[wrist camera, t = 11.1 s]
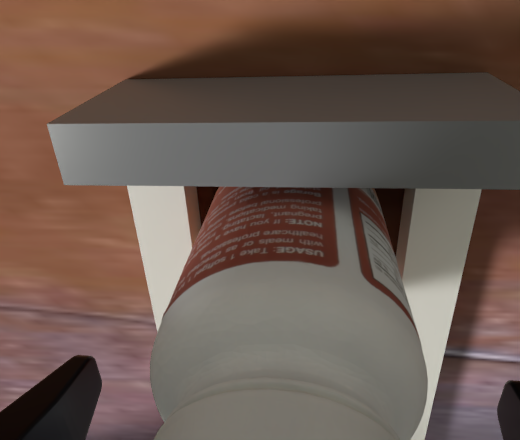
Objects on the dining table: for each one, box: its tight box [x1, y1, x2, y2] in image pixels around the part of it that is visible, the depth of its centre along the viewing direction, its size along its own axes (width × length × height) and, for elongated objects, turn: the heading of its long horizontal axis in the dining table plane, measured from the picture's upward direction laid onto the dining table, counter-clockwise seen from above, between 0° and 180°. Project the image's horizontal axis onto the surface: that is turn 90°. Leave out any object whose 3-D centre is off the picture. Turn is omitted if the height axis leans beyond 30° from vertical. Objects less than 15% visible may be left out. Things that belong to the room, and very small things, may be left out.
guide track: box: [47, 73, 520, 440], centre depth 17 cm, size 20×12×5 cm, turn 2°
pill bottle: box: [150, 187, 428, 440], centre depth 12 cm, size 6×6×11 cm
